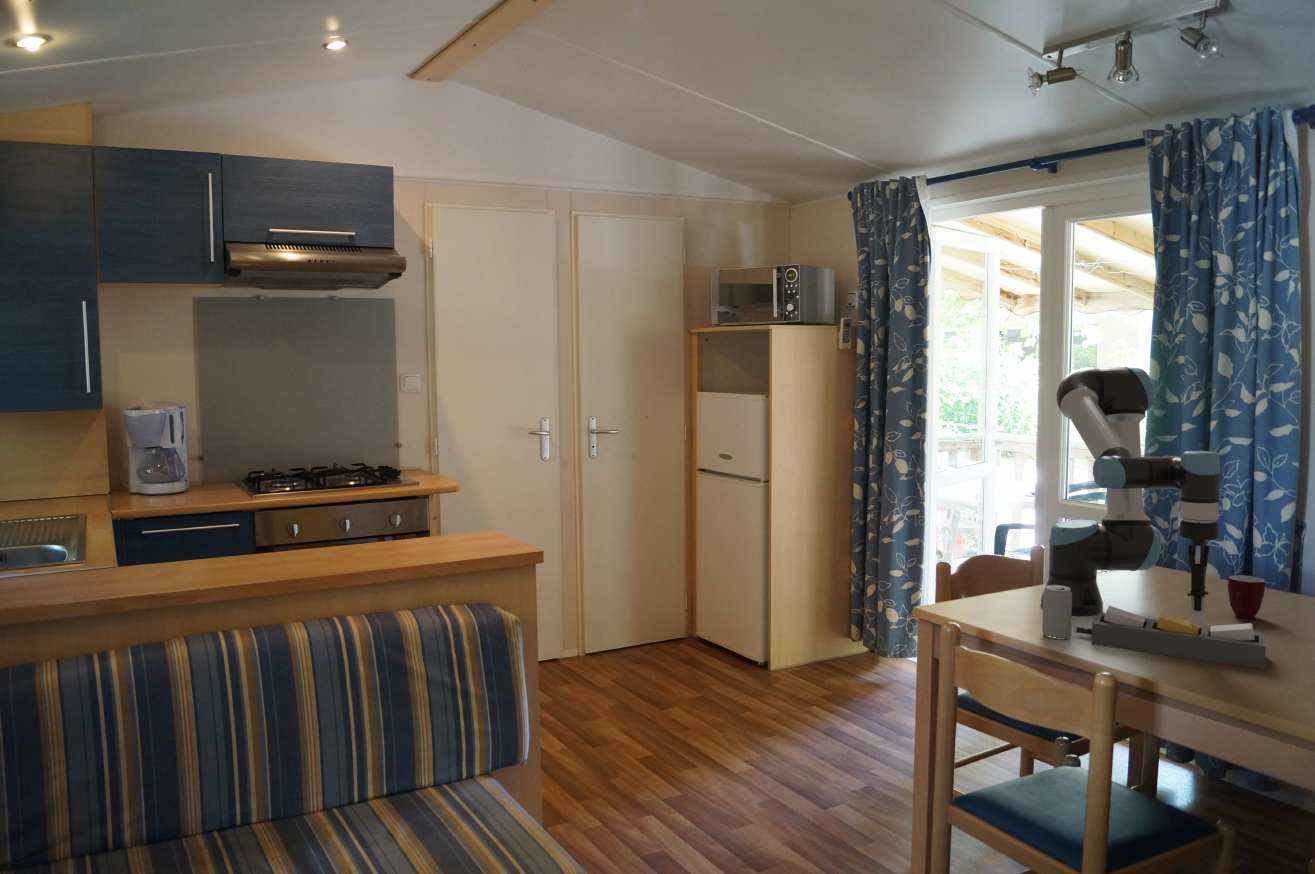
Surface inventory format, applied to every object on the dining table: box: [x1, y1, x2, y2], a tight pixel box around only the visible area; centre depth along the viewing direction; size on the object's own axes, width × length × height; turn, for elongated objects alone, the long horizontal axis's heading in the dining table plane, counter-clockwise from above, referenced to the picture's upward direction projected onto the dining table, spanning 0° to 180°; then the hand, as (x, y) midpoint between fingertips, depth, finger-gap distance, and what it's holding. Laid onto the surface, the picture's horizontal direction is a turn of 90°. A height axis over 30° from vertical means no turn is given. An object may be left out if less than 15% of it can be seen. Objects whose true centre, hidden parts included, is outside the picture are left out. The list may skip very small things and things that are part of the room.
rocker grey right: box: [1210, 622, 1255, 640], centre depth 208 cm, size 8×5×2 cm, turn 58°
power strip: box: [1075, 612, 1267, 670], centre depth 215 cm, size 38×11×5 cm, turn 58°
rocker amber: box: [1157, 612, 1199, 634], centre depth 214 cm, size 8×5×2 cm, turn 58°
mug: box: [1227, 574, 1266, 620], centre depth 240 cm, size 11×8×10 cm
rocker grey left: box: [1104, 605, 1146, 627], centre depth 219 cm, size 8×5×2 cm, turn 58°
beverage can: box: [1041, 585, 1073, 639], centre depth 224 cm, size 6×6×12 cm
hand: (1197, 623), depth 211 cm, fingers closed
